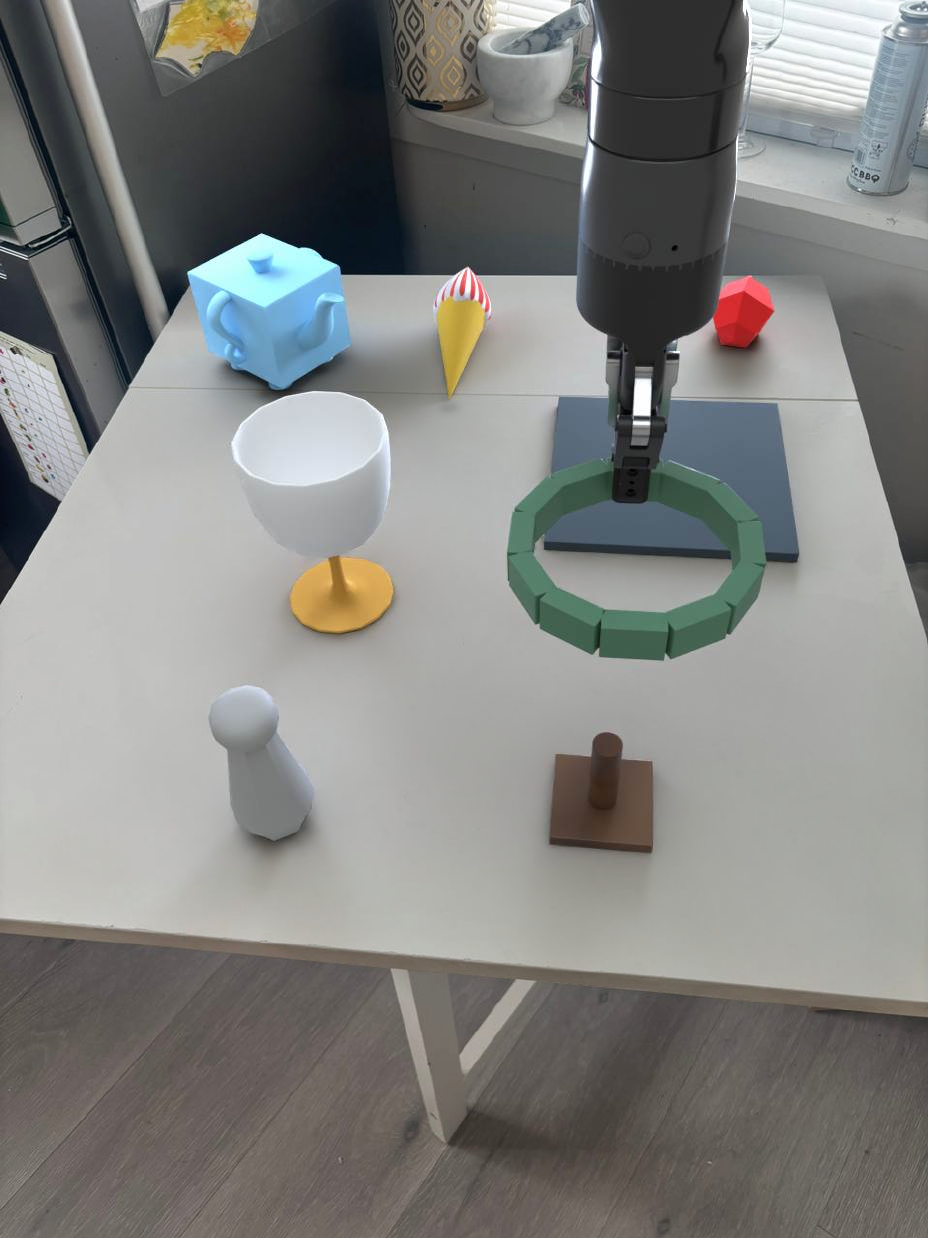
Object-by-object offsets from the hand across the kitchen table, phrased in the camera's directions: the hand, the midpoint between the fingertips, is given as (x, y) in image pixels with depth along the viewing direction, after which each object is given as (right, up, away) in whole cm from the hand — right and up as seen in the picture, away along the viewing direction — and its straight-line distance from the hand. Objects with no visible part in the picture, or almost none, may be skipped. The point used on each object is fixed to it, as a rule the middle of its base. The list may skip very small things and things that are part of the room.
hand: (629, 488), depth 63 cm
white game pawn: (-24, -22, +9) cm, 34 cm away
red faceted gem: (+20, +23, +48) cm, 57 cm away
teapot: (-29, +19, +48) cm, 59 cm away
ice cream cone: (-11, +22, +49) cm, 55 cm away
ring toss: (-1, -21, +8) cm, 23 cm away
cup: (-21, -6, +24) cm, 32 cm away
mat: (+9, +5, +32) cm, 34 cm away
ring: (-1, -5, -4) cm, 7 cm away
